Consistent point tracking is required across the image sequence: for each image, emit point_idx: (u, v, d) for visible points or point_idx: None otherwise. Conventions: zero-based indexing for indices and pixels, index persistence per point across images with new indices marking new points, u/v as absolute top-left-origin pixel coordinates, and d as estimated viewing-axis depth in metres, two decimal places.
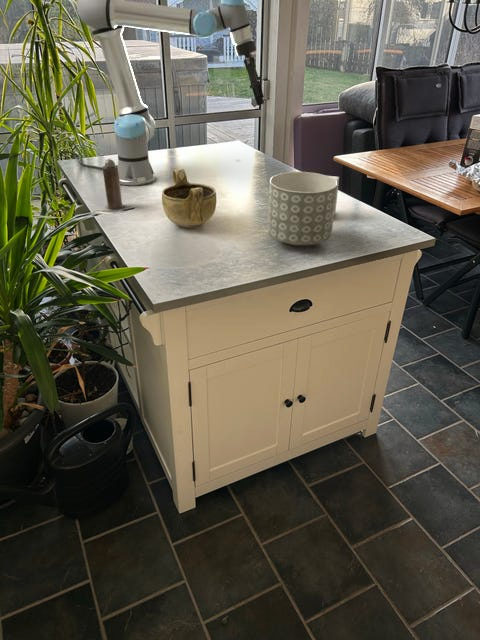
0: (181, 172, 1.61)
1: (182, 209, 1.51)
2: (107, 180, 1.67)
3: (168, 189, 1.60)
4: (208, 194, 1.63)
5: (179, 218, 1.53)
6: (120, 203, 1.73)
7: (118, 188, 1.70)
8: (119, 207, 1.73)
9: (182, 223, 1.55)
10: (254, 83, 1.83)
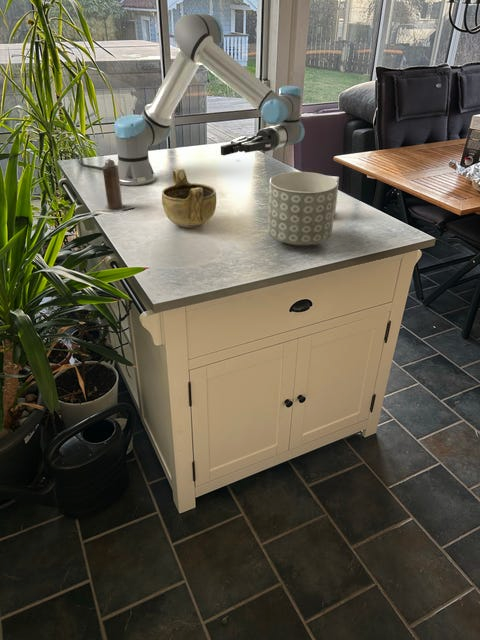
0: (181, 172, 1.61)
1: (182, 209, 1.51)
2: (107, 180, 1.67)
3: (168, 189, 1.60)
4: (208, 194, 1.63)
5: (179, 218, 1.53)
6: (120, 203, 1.73)
7: (118, 188, 1.70)
8: (119, 207, 1.73)
9: (182, 223, 1.55)
10: (246, 148, 1.63)
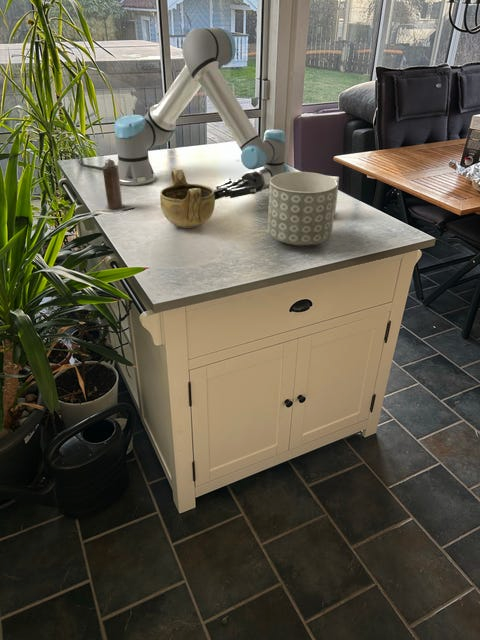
0: (180, 172, 1.61)
1: (180, 210, 1.51)
2: (107, 180, 1.67)
3: (166, 189, 1.59)
4: (207, 194, 1.62)
5: (177, 219, 1.53)
6: (120, 203, 1.73)
7: (118, 188, 1.70)
8: (119, 207, 1.73)
9: (180, 224, 1.55)
10: (232, 194, 1.66)
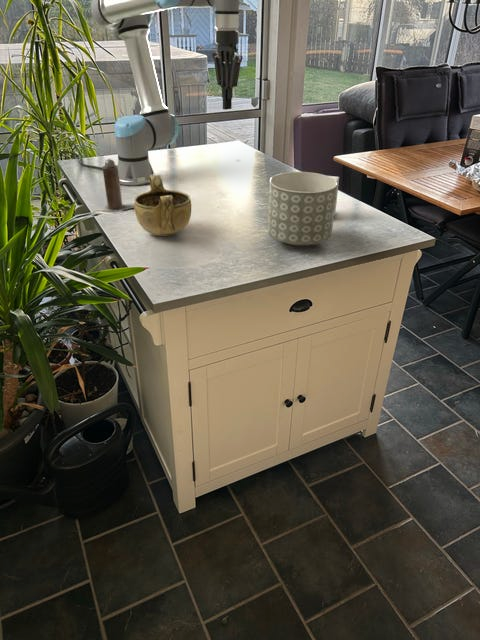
0: (157, 178, 1.55)
1: (152, 217, 1.45)
2: (107, 180, 1.67)
3: (142, 196, 1.54)
4: (185, 202, 1.57)
5: (150, 226, 1.48)
6: (120, 203, 1.73)
7: (118, 188, 1.70)
8: (119, 207, 1.73)
9: (153, 231, 1.49)
10: (234, 85, 1.67)
